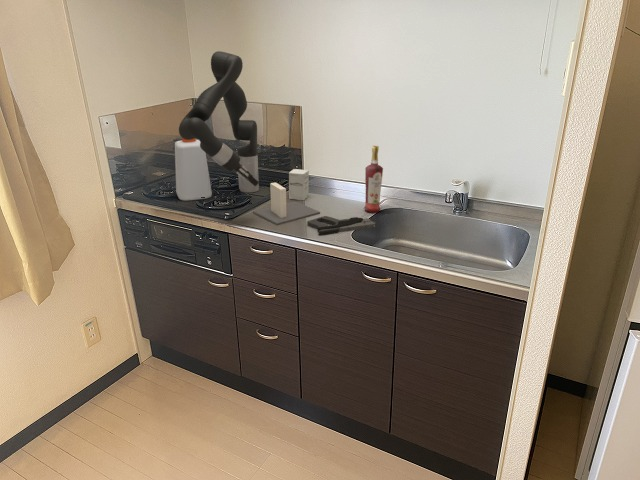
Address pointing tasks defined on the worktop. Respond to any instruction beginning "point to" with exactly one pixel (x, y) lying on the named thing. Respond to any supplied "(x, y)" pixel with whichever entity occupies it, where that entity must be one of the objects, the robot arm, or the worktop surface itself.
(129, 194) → the worktop surface
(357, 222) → the pistol
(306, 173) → the supplement box
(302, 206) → the mat
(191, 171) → the plastic bottle
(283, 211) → the tile
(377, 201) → the liquor
